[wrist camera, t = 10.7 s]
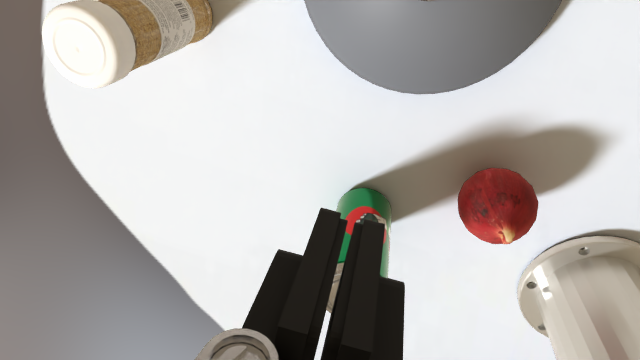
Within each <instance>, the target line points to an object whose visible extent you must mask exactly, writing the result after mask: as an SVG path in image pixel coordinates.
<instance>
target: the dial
mask: <svg viewBox="0 0 640 360" xmlns="http://www.w3.org/2000/svg"><path fill="white" fill-rule="evenodd" d="M304 1H305V4H306V7H307V10H308V13H309V16H310V18H311V20H312V22H313V24H314V27H315V29H316V31H317V32H318V34H319V36H320V37H321V39H322V40H323V42H324V43H325V45H326V46H327V47H328V49H329V50H330V51H331V52H332V53H333V55H334V56H335V57H336V58H337V59H338V60H339V61H340V62H341V63H342V64H344V65H345V66H346V67H347V68H348V69H350V70H351V71H352V72H354V73H355V74H357V75H358V76H359V77H361V78H363V79H365V80H367V81H369V82H371V83H372V84H375V85H378V86H380V87H383V88H386V89H389V90H393V91H398V92H402V93H411V94H435V93H442V92H449V91H453V90H457V89H460V88H464V87H467V86H469V85H472V84H474V83H477V82H479V81H482V80H484V79H485V78H487V77H489V76H491V75H493V74H495V73H497V72H498V71H500V70H501V69H502V68H504V67H505V66H507V65H508V64H510V63H511V62H512V61H513V60H515V59H516V58H517V57H518V56H519V55H520V54H522V53H523V52H524V51H525V50H526V49H527V48H528V47H529V46H530V45H531V44H532V43H533V41H534V40H535V39H536V38H537V37H538V36H539V35H540V34H541V32H542V31H543V29H544V28H545V27H546V25H547V24H548V23H549V21H550V20H551V19H552V17H553V15H554V13H555V12H556V10H557V8H558V6H559V5H560V3H561V1H562V0H435V1H421V0H304Z"/></svg>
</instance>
